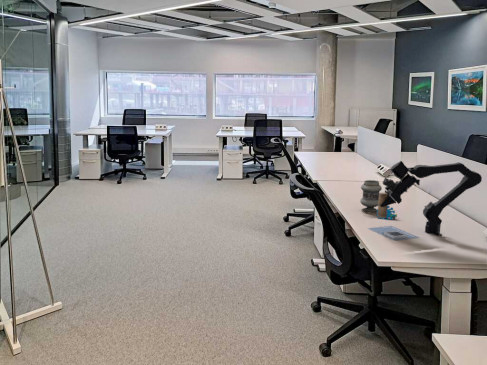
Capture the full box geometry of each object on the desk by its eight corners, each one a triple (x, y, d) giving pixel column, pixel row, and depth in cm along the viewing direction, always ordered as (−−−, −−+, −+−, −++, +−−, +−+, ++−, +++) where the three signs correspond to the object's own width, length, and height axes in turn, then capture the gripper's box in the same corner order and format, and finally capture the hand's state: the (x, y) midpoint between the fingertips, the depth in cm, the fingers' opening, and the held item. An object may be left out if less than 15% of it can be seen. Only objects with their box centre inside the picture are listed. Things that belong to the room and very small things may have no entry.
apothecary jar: (355, 209, 292) (357, 179, 289) (373, 207, 296) (375, 179, 293) (366, 213, 281) (368, 183, 278) (384, 212, 285) (386, 182, 281)
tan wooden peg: (383, 215, 247) (384, 192, 245) (388, 217, 243) (390, 194, 241) (375, 215, 245) (377, 192, 243) (381, 218, 241) (382, 194, 239)
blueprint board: (391, 227, 253) (391, 225, 252) (420, 239, 232) (420, 237, 232) (367, 230, 248) (367, 227, 247) (393, 242, 227) (394, 240, 227)
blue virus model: (373, 217, 267) (379, 202, 271) (374, 222, 272) (380, 208, 276) (393, 222, 262) (399, 207, 266) (393, 228, 267) (399, 213, 271)
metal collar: (397, 233, 238) (397, 231, 238) (407, 238, 231) (407, 235, 231) (383, 235, 236) (384, 232, 235) (393, 239, 228) (393, 236, 228)
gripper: (390, 169, 249) (366, 190, 252) (396, 176, 230) (371, 197, 234) (404, 185, 249) (381, 205, 252) (412, 192, 231) (386, 214, 234)
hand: (379, 205), depth 243 cm, fingers closed on tan wooden peg, 4 cm apart
